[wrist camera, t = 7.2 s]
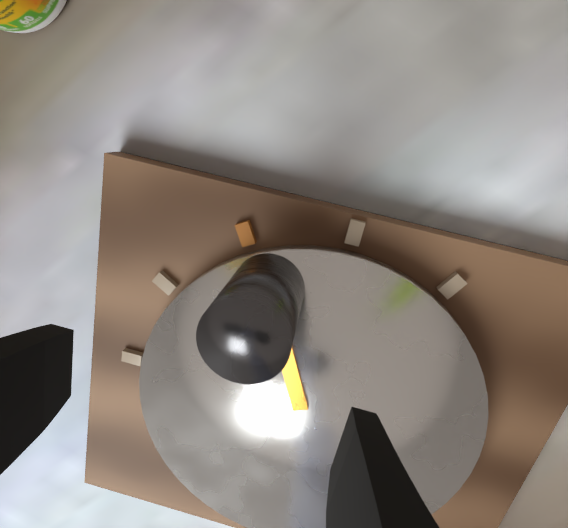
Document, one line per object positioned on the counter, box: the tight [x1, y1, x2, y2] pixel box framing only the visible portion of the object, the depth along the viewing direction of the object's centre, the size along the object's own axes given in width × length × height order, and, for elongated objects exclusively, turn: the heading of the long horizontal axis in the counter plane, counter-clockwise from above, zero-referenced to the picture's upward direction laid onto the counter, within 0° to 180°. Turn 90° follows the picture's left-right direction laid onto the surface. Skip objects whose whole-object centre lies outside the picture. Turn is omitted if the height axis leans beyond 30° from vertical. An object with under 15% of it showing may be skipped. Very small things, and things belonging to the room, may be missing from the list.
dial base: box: [85, 152, 568, 528], centre depth 20 cm, size 19×22×2 cm
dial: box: [139, 245, 489, 528], centre depth 17 cm, size 16×16×5 cm
